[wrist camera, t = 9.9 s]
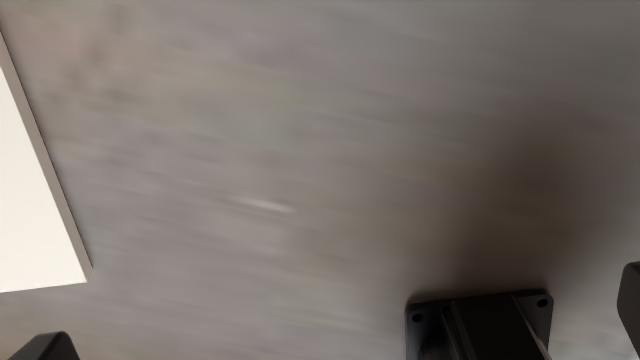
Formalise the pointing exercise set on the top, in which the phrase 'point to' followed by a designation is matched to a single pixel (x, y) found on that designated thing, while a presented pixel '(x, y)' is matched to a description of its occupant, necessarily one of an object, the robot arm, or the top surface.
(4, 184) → the shelf
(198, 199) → the top surface
